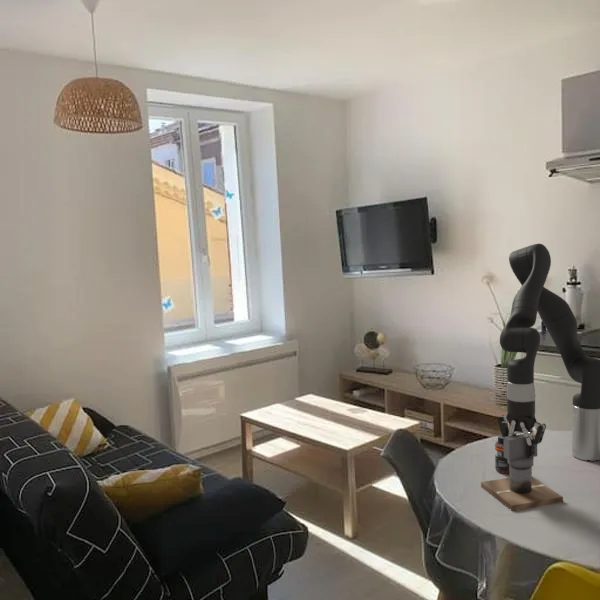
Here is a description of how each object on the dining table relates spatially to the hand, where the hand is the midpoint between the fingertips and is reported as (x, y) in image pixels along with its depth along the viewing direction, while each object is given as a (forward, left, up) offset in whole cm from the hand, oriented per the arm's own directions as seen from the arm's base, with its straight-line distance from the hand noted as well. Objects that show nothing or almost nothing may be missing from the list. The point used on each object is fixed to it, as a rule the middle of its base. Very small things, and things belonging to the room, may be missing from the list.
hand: (521, 454), depth 172 cm
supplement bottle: (-5, -16, -12) cm, 21 cm away
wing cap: (0, 0, -3) cm, 3 cm away
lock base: (0, 0, -12) cm, 12 cm away
